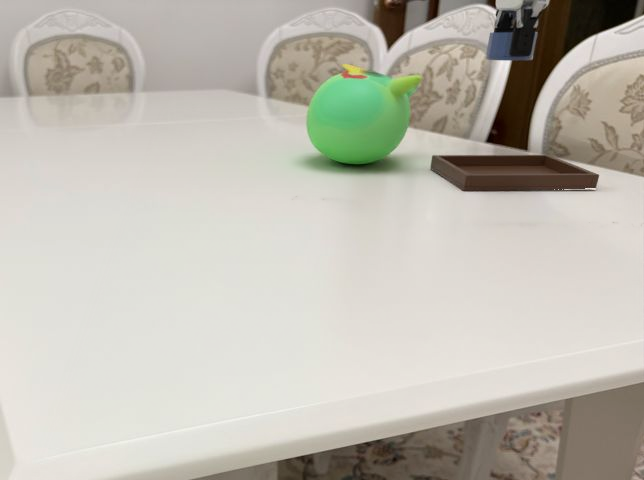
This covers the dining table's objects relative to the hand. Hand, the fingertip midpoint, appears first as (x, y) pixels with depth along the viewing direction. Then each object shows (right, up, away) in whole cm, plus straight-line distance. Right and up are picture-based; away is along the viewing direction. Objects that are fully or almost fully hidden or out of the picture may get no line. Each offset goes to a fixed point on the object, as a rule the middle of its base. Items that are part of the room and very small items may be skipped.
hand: (509, 53), depth 111 cm
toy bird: (-25, -18, -1) cm, 31 cm away
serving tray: (-7, -24, -13) cm, 28 cm away
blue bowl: (0, -1, 0) cm, 1 cm away
